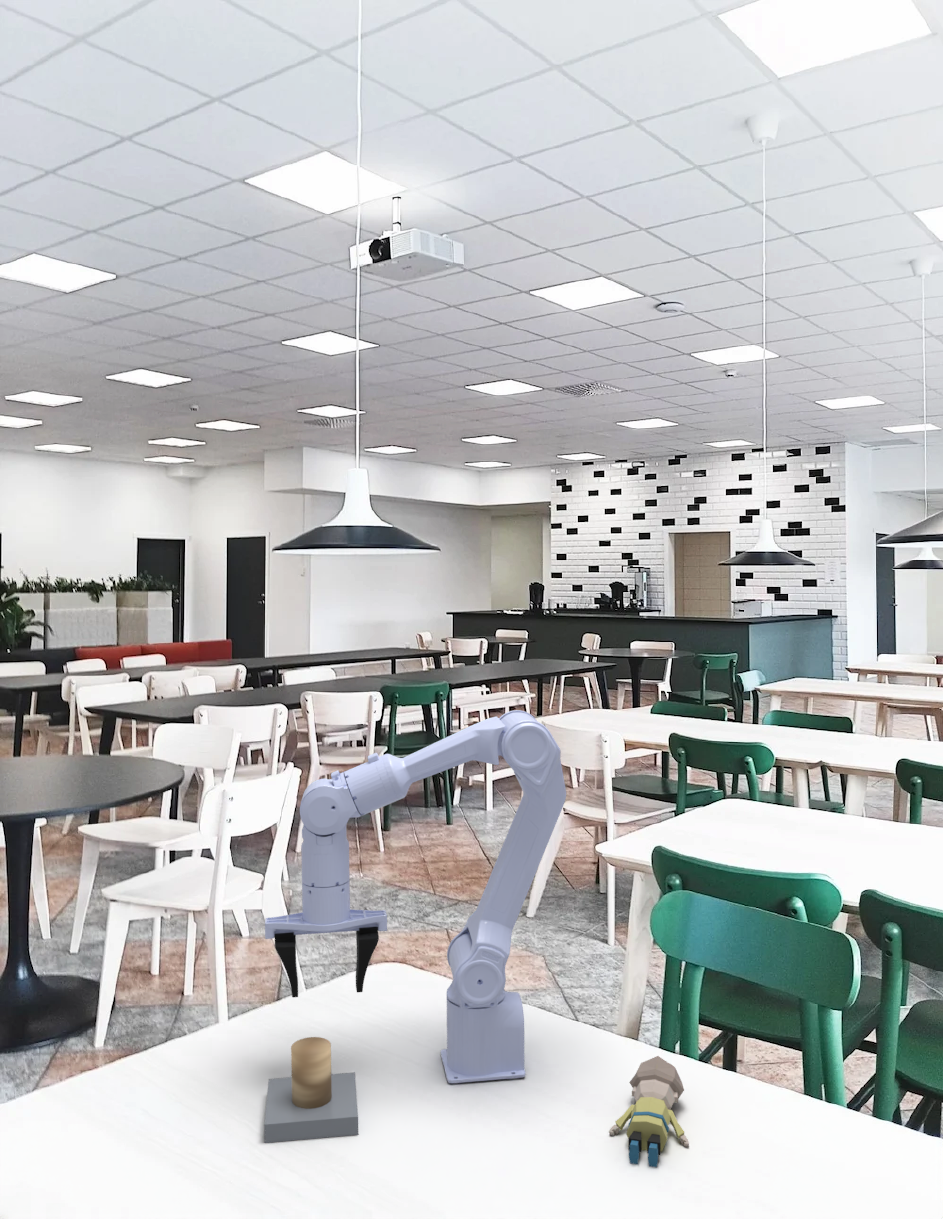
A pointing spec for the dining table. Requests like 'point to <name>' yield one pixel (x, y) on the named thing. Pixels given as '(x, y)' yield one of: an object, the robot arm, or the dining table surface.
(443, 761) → the robot arm
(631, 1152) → the toy
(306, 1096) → the oak cylinder
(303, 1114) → the plate
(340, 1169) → the dining table surface
